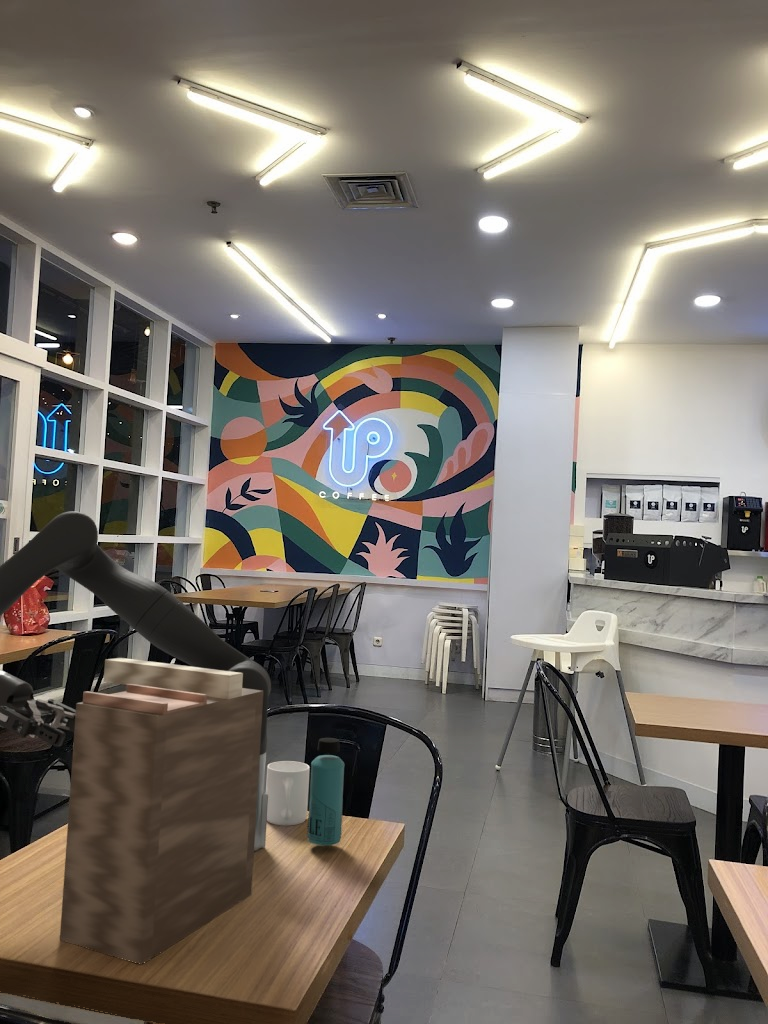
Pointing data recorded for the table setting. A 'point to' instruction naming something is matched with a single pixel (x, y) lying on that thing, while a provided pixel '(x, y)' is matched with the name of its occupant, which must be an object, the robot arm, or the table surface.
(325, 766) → the beverage bottle
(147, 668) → the cream long bar
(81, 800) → the brown wooden box
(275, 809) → the mug
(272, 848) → the table surface
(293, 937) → the table surface
